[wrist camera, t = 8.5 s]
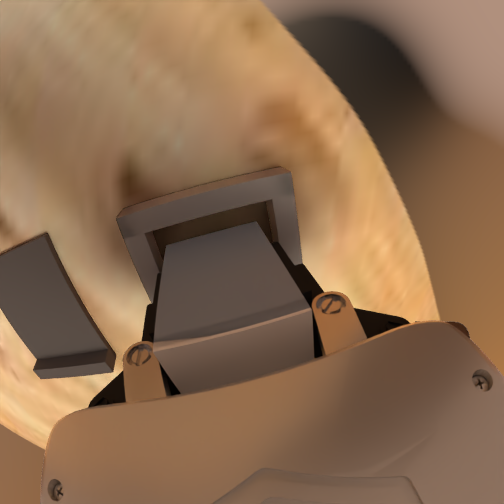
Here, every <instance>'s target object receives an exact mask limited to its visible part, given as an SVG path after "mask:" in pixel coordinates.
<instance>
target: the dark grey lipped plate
mask: <svg viewBox="0 0 504 504" xmlns="http://www.w3.org/2000/svg"><path fill="white" fill-rule="evenodd" d="M0 308H1V310H2V312H3V313H4V315H5V316H6V318H7V319H8V321H9V322H10V324H11V325H12V327H13V328H14V330H15V331H16V333H17V334H18V335H19V337H20V338H21V339H22V341H23V342H24V343H25V345H26V346H27V347H28V349H29V350H30V351H31V353H32V354H33V355H34V356H35V358H36V359H37V361H36V364H35V366H34V369H33V371H34V372H35V373H36V374H37V375H38V377H39V378H40V379H51V378H65V377H76V376H86V375H95V374H103V373H111V372H113V370H114V365H115V360H116V354H115V352H114V351H113V350H112V348H111V347H110V345H109V344H108V343H107V341H106V340H105V338H104V337H103V335H102V334H101V332H100V331H99V329H98V327H97V326H96V324H95V323H94V321H93V320H92V318H91V316H90V315H89V313H88V311H87V310H86V308H85V306H84V305H83V303H82V301H81V300H80V298H79V296H78V294H77V293H76V291H75V289H74V287H73V285H72V283H71V281H70V280H69V278H68V276H67V274H66V272H65V270H64V268H63V266H62V264H61V262H60V260H59V258H58V255H57V253H56V251H55V249H54V247H53V244H52V242H51V240H50V238H49V235H48V233H46V234H44V235H42V236H40V237H37V238H35V239H33V240H31V241H28V242H26V243H24V244H22V245H20V246H18V247H16V248H13V249H11V250H9V251H7V252H5V253H3V254H1V255H0Z"/></svg>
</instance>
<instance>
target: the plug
mask: <svg viewBox="0 0 504 504" xmlns="http://www.w3.org/2000/svg"><path fill="white" fill-rule="evenodd" d="M153 353H154V355H155V356H156V358H157V359H158V361H159V362H160V364H161V365H162V367H163V368H164V370H165V371H166V373H167V374H168V376H169V377H170V379H171V380H172V382H173V383H174V384H175V386H176V387H177V389H178V390H179V391H180V393H181V394H184V393H189V392H195V391H199V390H204V389H209V388H214V387H218V386H222V385H227V384H231V383H235V382H239V381H243V380H247V379H250V378H254V377H258V376H261V375H265V374H268V373H272V372H275V371H279V370H282V369H285V368H288V367H292V366H295V365H298V364H301V363H304V362H307V361H310V360H313V359H314V340H313V320H312V309H311V308H310V306H309V304H308V303H307V301H306V300H305V298H304V296H303V295H302V293H301V291H300V290H299V288H298V287H297V285H296V283H295V282H294V280H293V279H292V277H291V275H290V274H289V272H288V271H287V269H286V267H285V266H284V264H283V263H282V261H281V259H280V258H279V256H278V255H277V253H276V251H275V250H274V248H273V247H272V245H271V244H270V242H269V240H268V239H267V237H266V236H265V234H264V233H263V231H262V229H261V228H260V226H259V225H258V223H257V222H256V221H255V222H251V223H247V224H243V225H240V226H236V227H232V228H228V229H224V230H220V231H217V232H213V233H209V234H205V235H202V236H198V237H194V238H191V239H187V240H183V241H180V242H176V243H173V244H169V245H166V250H165V256H164V262H163V268H162V275H161V282H160V289H159V296H158V304H157V313H156V322H155V332H154V342H153Z"/></svg>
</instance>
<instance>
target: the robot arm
mask: <svg viewBox="0 0 504 504" xmlns="http://www.w3.org/2000/svg"><path fill="white" fill-rule="evenodd" d="M270 244H271V245H272V247H273V248H274V250H275V251H276V253H277V255H278V256H279V258H280V259H281V261H282V263H283V264H284V266H285V267H286V269H287V271H288V272H289V274H290V275H291V277H292V279H293V280H294V282H295V283H296V285H297V287H298V288H299V290H300V291H301V293H302V295H303V296H304V298H305V300H306V301H307V303H308V304H309V306H310V308H311V309H312V320H313V340H314V358H315V359H313V360H310V361H307V362H304V363H301V364H298V365H295V366H292V367H288V368H285V369H282V370H279V371H275V372H272V373H268V374H265V375H261V376H258V377H254V378H250V379H247V380H243V381H239V382H235V383H231V384H227V385H222V386H218V387H214V388H209V389H204V390H199V391H195V392H189V393H184V394H181V393H180V391H179V390H178V389H177V387H176V386H175V384H174V383H173V382H172V380H171V379H170V377H169V376H168V374H167V373H166V371H165V370H164V368H163V367H162V365H161V364H160V362H159V361H158V359H157V358H156V356H155V355H154V353H153V342H154V332H155V322H156V313H157V304H158V296H159V289H160V282H161V275H162V272H161V273H158V274H157V279H156V286H155V292H154V298H153V303H152V304H149V305H148V306H147V310H146V316H145V322H144V329H143V336H142V341H141V342H137V343H135V344H133V345H132V346H130V347H129V348H128V349H127V350H126V352H125V354H124V356H123V371H122V372H121V373H120V374H119V375H118V376H117V377H116V378H115V379H114V380H112V381H111V382H110V383H109V384H108V385H107V386H106V387H105V388H104V389H103V390H102V391H101V392H100V393H98V394H97V395H96V396H95V397H94V398H93V399H92V401H91V402H90V404H89V406H88V408H85V409H82V410H78V411H75V412H73V413H71V414H69V415H66V416H65V417H63V418H62V419H60V420H59V421H58V422H57V423H56V424H55V425H54V427H53V429H52V431H51V433H50V435H49V438H48V442H47V446H46V450H45V455H44V461H43V469H42V477H41V479H42V480H41V502H40V503H41V504H504V377H503V375H502V374H501V373H500V371H499V370H498V369H497V368H496V366H495V365H494V364H493V363H492V362H491V360H490V359H489V358H488V357H487V356H486V355H485V354H484V353H483V352H482V351H481V350H480V348H479V347H478V346H477V345H476V344H474V342H473V341H472V340H471V339H470V336H469V332H468V330H467V328H466V327H465V326H464V325H463V324H461V323H459V322H443V321H422V322H417V321H415V323H411V324H410V323H409V322H408V321H407V320H406V319H404V318H401V317H398V316H392V315H387V314H382V313H377V312H371V311H366V310H361V309H356V308H353V306H352V304H351V302H350V300H349V298H348V297H347V296H346V295H344V294H343V293H340V292H334V291H331V292H325V293H324V291H323V290H322V288H321V287H320V286H319V284H318V283H317V282H316V280H315V279H314V278H313V276H312V275H311V274H310V272H309V271H308V270H307V268H306V267H305V265H304V264H302V263H301V264H298V265H294V264H293V262H292V261H291V259H290V258H289V257H288V255H287V254H286V252H285V251H284V249H283V248H282V246H281V245H280V244H279V242H278V241H277V242H273V243H270Z"/></svg>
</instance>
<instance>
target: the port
mask: <svg viewBox="0 0 504 504" xmlns="http://www.w3.org/2000/svg"><path fill="white" fill-rule="evenodd" d="M263 201H266V205H267V211H268V216H269V222H270V228H271V234H272V240H273V242H277V241H278V242H279V244H280V245H281V246H282V248H283V249H284V251H285V252H286V254H287V255H288V257H289V258H290V259H291V261H292V262H293V264H294V265H298V264H301V263H302V254H301V245H300V236H299V227H298V219H297V211H296V203H295V196H294V189H293V182H292V175H291V172H290V171H288V170H286V169H284V168H282V167H277V168H273V169H268V170H263V171H258V172H254V173H249V174H245V175H241V176H236V177H232V178H228V179H224V180H220V181H216V182H212V183H208V184H204V185H200V186H197V187H193V188H189V189H186V190H182V191H179V192H175V193H172V194H168V195H165V196H161V197H158V198H155V199H152V200H148V201H145V202H142V203H139V204H136V205H133V206H130V207H127V208H124V209H123V210H122V211H121V212H120V214H119V215H118V216H117V218H116V220H117V223H118V226H119V229H120V231H121V234H122V236H123V239H124V241H125V244H126V246H127V249H128V251H129V254H130V256H131V259H132V261H133V263H134V266H135V268H136V270H137V272H138V275H139V277H140V279H141V281H142V284H143V286H144V288H145V290H146V292H147V294H148V296H149V299H150V301H151V303H153V298H154V292H155V286H156V279H157V274H158V273H161V272H162V268H163V259H162V257H161V254H160V251H159V249H158V246H157V243H156V241H155V238H154V235H153V232H152V231H154V230H157V229H161V228H164V227H168V226H171V225H175V224H178V223H182V222H185V221H189V220H192V219H196V218H200V217H204V216H207V215H211V214H215V213H219V212H223V211H226V210H230V209H234V208H238V207H242V206H246V205H250V204H254V203H259V202H263ZM302 264H303V263H302ZM314 359H315V358H314Z"/></svg>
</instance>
